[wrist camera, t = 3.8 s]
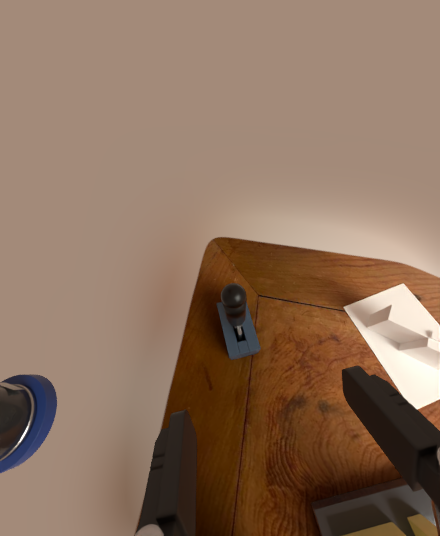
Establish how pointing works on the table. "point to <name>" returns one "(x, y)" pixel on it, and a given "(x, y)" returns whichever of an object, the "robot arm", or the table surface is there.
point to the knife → (234, 306)
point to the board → (372, 509)
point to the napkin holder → (402, 341)
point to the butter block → (379, 531)
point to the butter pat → (422, 526)
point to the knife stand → (234, 348)
